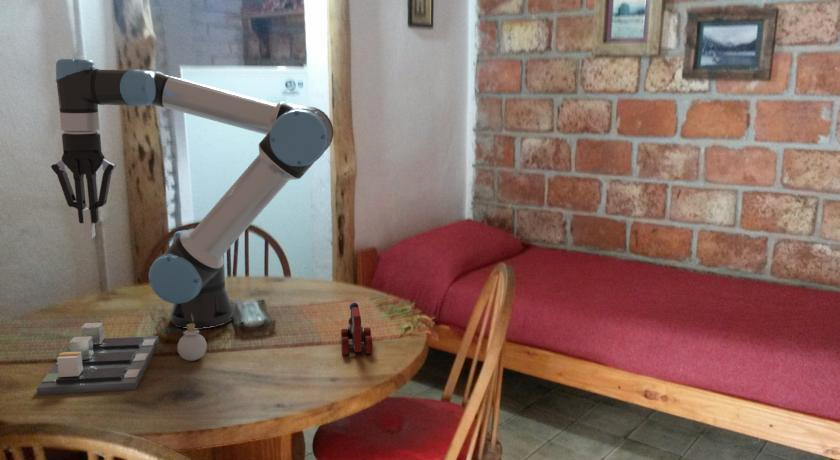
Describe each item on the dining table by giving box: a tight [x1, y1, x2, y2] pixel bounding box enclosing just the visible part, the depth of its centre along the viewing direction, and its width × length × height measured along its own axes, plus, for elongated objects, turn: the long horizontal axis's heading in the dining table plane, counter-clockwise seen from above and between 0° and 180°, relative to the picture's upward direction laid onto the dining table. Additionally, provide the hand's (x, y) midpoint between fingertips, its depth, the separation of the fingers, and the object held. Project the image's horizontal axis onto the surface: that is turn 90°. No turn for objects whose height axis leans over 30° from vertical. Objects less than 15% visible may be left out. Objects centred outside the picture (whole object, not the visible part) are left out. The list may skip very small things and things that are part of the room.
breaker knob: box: [56, 351, 83, 377], centre depth 134 cm, size 4×3×4 cm
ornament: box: [177, 313, 208, 362], centre depth 148 cm, size 6×7×10 cm
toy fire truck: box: [340, 302, 374, 356], centre depth 155 cm, size 7×12×10 cm, turn 8°
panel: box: [36, 322, 160, 396], centre depth 143 cm, size 18×24×6 cm
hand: (90, 236), depth 153 cm, fingers closed
